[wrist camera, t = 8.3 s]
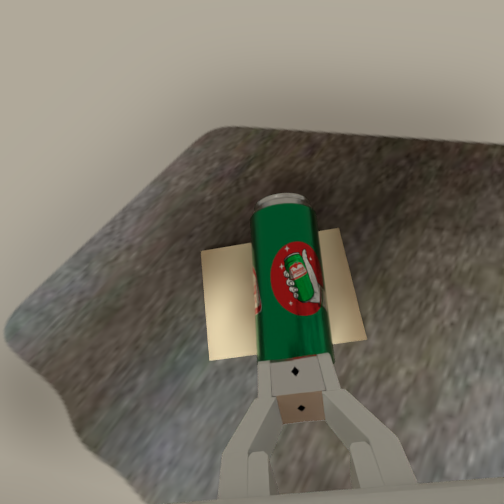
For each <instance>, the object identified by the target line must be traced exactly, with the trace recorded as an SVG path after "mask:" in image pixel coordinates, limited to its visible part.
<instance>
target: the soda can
mask: <svg viewBox="0 0 504 504" xmlns="http://www.w3.org/2000/svg"><path fill="white" fill-rule="evenodd" d="M254 211H255V212H254V213H253V215H252V217H251V218H250V229H251V249H252V269H253V289H254V309H255V329H256V349H257V365H258V362H259V361H268V360H277V359H287V358H293V357H300V356H307V355H314V354H316V355H317V354H323V353H329V354H330V356H331V359H332V362H333V364H334V363H335V358H334V350H333V342H332V334H331V327H330V319H329V311H328V303H327V295H326V287H325V279H324V271H323V264H322V256H321V248H320V240H319V232H318V224H317V216H316V212H315V211H314V210H313V208H312V207H311V206H310V202H309V200H308V199H307V198H306V197H305V196H303V195H300V194H295V193H279V194H274V195H270V196H267V197H265V198H263V199H261V200H259V201H258V202H257V203H256V204H255V207H254Z"/></svg>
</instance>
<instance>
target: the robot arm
mask: <svg viewBox="0 0 504 504" xmlns="http://www.w3.org/2000/svg"><path fill="white" fill-rule="evenodd" d="M321 420H326V422H327V424H328V425H329V426H330V427H331V429H332V430H333V431H334V432H335V434H336V435H337V436H338V437H339V439H340V440H341V441H342V442H343V444H344V445H345V446H346V447H347V449H348V450H349V451H350V473H351V485H352V489H344V490H332V491H319V492H306V493H293V494H281V495H279V494H278V486H277V483H276V480H275V477H274V473H273V470H272V467H271V464H270V461H269V460H270V458H271V455H272V453H273V450H274V448H275V445H276V443H277V440H278V438H279V435H280V433H281V430H282V428H283V425H284V424H291V423H299V422H308V421H321ZM167 504H504V477H497V478H485V479H472V480H459V481H446V482H434V483H421V484H418V482H417V480H416V477H415V475H414V473H413V471H412V468H411V466H410V464H409V462H408V459H407V457H406V455H405V452H404V450H403V448H402V446H401V443H400V441H399V439H398V437H397V436H396V435H395V434H394V433H392V432H391V431H390V430H389V429H388V428H387V427H386V426H385V425H384V424H383V423H382V422H380V421H379V420H378V419H377V418H376V417H375V416H374V415H373V414H372V413H371V412H370V411H368V410H367V409H366V408H365V407H364V406H363V405H362V404H361V403H360V402H359V401H358V400H356V399H355V398H354V397H353V396H352V395H351V394H350V393H349V392H348V391H347V390H346V389H341V388H340V384H339V381H338V378H337V375H336V372H335V369H334V365H333V362H332V359H331V356H330V354H329V353H323V354H317V355H316V354H314V355H307V356H300V357H293V358H287V359H277V360H268V361H259V362H258V399H254V401H253V403H252V404H251V406H250V408H249V409H248V411H247V413H246V414H245V416H244V418H243V419H242V421H241V423H240V425H239V426H238V428H237V430H236V431H235V433H234V435H233V436H232V438H231V440H230V441H229V443H228V445H227V446H226V448H225V450H224V451H223V453H222V460H221V471H220V481H219V491H218V499H217V500H205V501H192V502H180V503H167Z"/></svg>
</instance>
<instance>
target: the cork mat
mask: <svg viewBox="0 0 504 504" xmlns="http://www.w3.org/2000/svg"><path fill="white" fill-rule="evenodd" d="M318 232H319V240H320V248H321V256H322V264H323V271H324V279H325V287H326V295H327V303H328V311H329V319H330V327H331V334H332V342H333V344H337V343H344V342H352V341H359V340H367V337H366V333H365V329H364V326H363V322H362V318H361V314H360V310H359V306H358V302H357V298H356V294H355V290H354V286H353V282H352V278H351V274H350V270H349V266H348V262H347V258H346V254H345V250H344V246H343V242H342V238H341V234H340V230H339V228H335V229H329V230H323V231H318ZM201 260H202V272H203V285H204V297H205V310H206V322H207V335H208V348H209V360H210V361H211V360H219V359H226V358H233V357H241V356H248V355H256V354H257V349H256V329H255V309H254V289H253V269H252V249H251V243H246V244H240V245H234V246H228V247H222V248H217V249H211V250H205V251H201Z"/></svg>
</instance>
